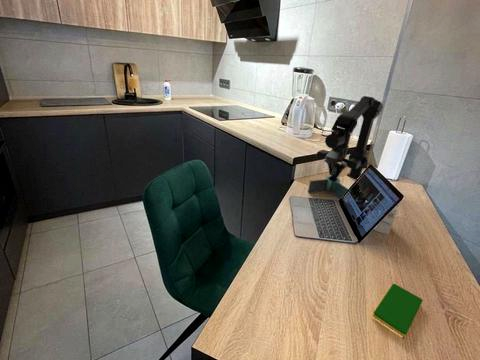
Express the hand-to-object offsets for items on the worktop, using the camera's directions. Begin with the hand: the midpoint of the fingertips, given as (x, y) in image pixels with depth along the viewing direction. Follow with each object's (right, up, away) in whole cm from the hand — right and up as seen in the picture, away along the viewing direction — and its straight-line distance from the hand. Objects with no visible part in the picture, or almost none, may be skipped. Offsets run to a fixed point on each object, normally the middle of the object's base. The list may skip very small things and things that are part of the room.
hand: (333, 176), depth 121 cm
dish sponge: (-4, -35, -56) cm, 66 cm away
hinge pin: (0, -1, +1) cm, 2 cm away
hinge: (-2, -8, -1) cm, 9 cm away
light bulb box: (+7, -19, -22) cm, 30 cm away
